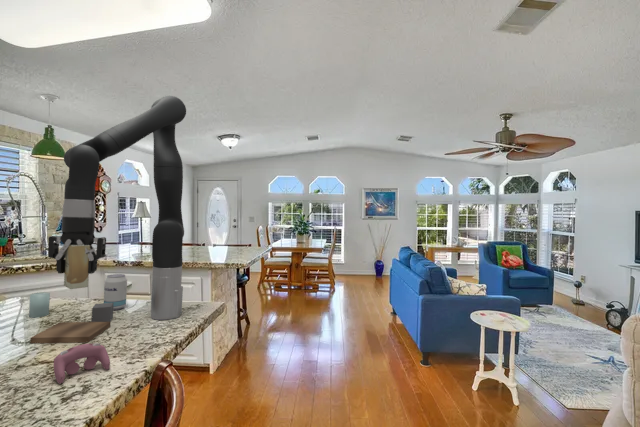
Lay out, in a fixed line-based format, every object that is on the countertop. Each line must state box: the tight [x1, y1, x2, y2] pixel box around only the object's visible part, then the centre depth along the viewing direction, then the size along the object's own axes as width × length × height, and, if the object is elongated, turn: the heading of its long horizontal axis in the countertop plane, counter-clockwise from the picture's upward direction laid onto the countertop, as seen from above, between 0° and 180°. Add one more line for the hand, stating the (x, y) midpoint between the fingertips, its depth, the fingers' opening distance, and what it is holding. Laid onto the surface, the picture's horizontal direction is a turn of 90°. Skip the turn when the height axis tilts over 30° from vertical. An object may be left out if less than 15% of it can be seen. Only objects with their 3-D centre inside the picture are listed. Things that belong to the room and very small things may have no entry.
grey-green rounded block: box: [28, 291, 51, 319], centre depth 106 cm, size 5×5×7 cm
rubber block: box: [91, 302, 114, 322], centre depth 103 cm, size 5×5×5 cm
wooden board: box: [29, 321, 112, 344], centre depth 91 cm, size 14×12×2 cm
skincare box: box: [63, 245, 90, 290], centre depth 91 cm, size 6×4×12 cm
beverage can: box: [103, 273, 128, 311], centre depth 116 cm, size 7×7×12 cm
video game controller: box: [53, 342, 111, 385], centre depth 71 cm, size 10×5×7 cm, turn 141°
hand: (76, 273), depth 91 cm, fingers closed on skincare box, 7 cm apart
